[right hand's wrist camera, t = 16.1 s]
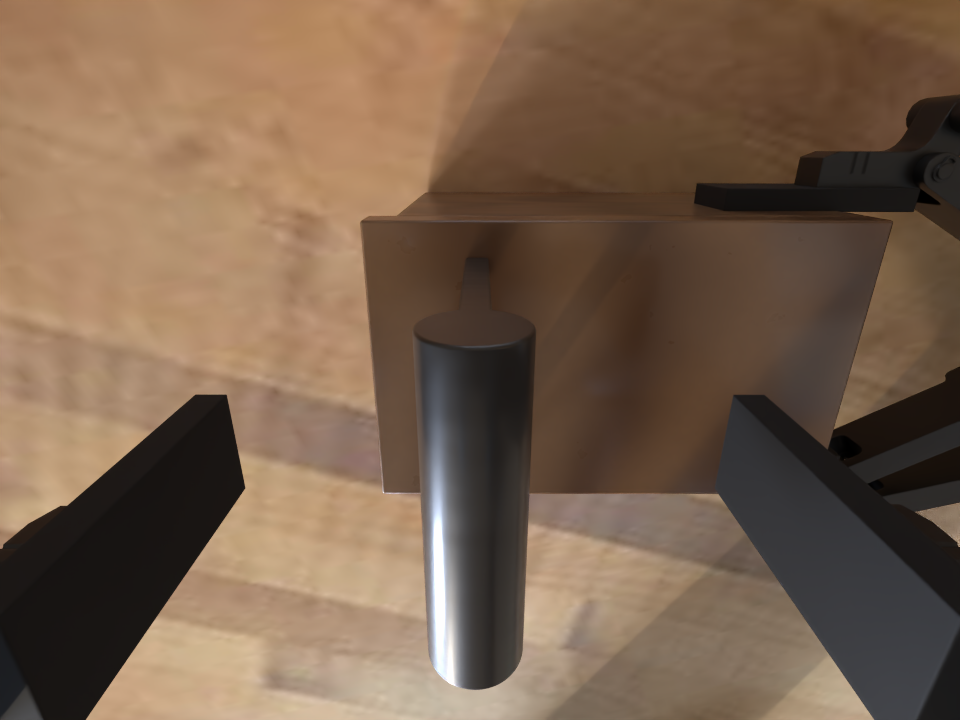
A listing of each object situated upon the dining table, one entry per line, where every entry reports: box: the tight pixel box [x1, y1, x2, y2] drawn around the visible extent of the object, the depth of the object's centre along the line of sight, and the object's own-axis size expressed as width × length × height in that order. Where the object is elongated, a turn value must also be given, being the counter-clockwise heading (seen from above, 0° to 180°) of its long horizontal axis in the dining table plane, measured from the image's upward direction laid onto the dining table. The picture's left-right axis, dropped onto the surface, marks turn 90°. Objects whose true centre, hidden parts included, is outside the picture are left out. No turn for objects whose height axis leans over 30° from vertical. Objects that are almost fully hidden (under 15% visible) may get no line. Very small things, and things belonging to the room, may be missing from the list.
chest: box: [397, 193, 863, 216], centre depth 23 cm, size 15×10×9 cm, turn 90°
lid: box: [360, 216, 893, 690], centre depth 14 cm, size 16×10×9 cm, turn 90°
